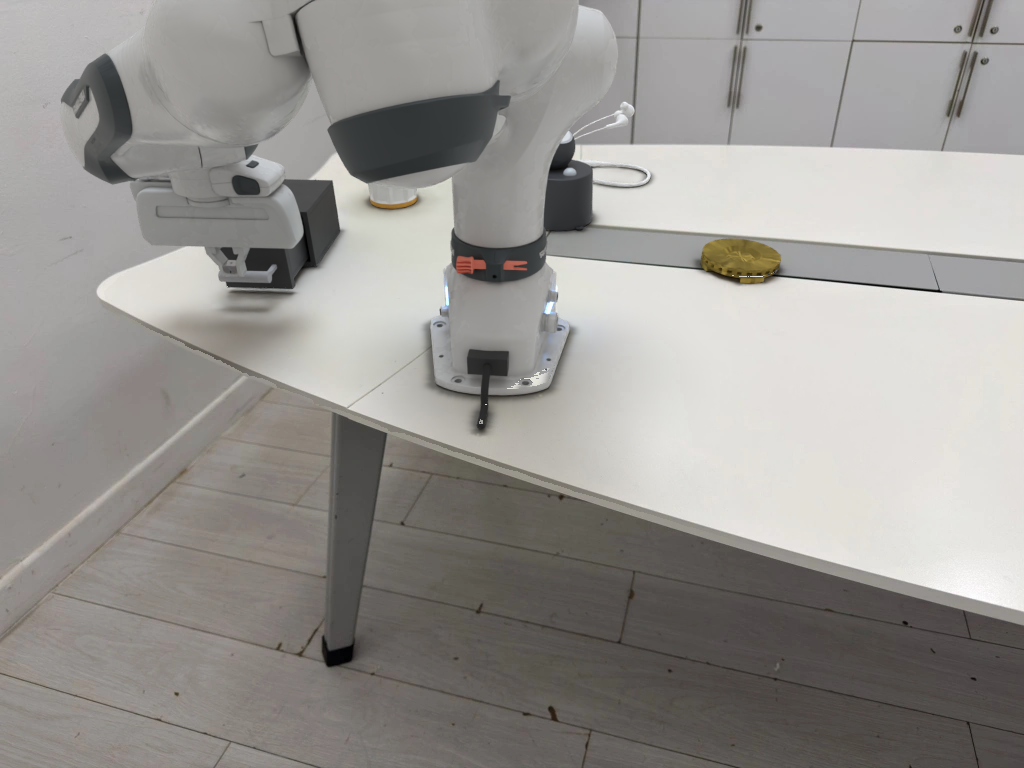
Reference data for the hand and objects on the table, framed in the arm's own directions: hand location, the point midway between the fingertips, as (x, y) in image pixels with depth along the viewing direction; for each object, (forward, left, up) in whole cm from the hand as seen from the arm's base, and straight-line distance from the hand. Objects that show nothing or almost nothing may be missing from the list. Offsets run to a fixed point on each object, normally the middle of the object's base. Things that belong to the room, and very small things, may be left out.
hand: (234, 274), depth 91 cm
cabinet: (+23, 0, -6) cm, 24 cm away
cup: (+46, -12, -6) cm, 48 cm away
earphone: (+64, -54, -6) cm, 84 cm away
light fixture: (+39, -44, -6) cm, 59 cm away
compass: (+20, -73, -6) cm, 76 cm away
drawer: (+11, 0, -5) cm, 12 cm away
